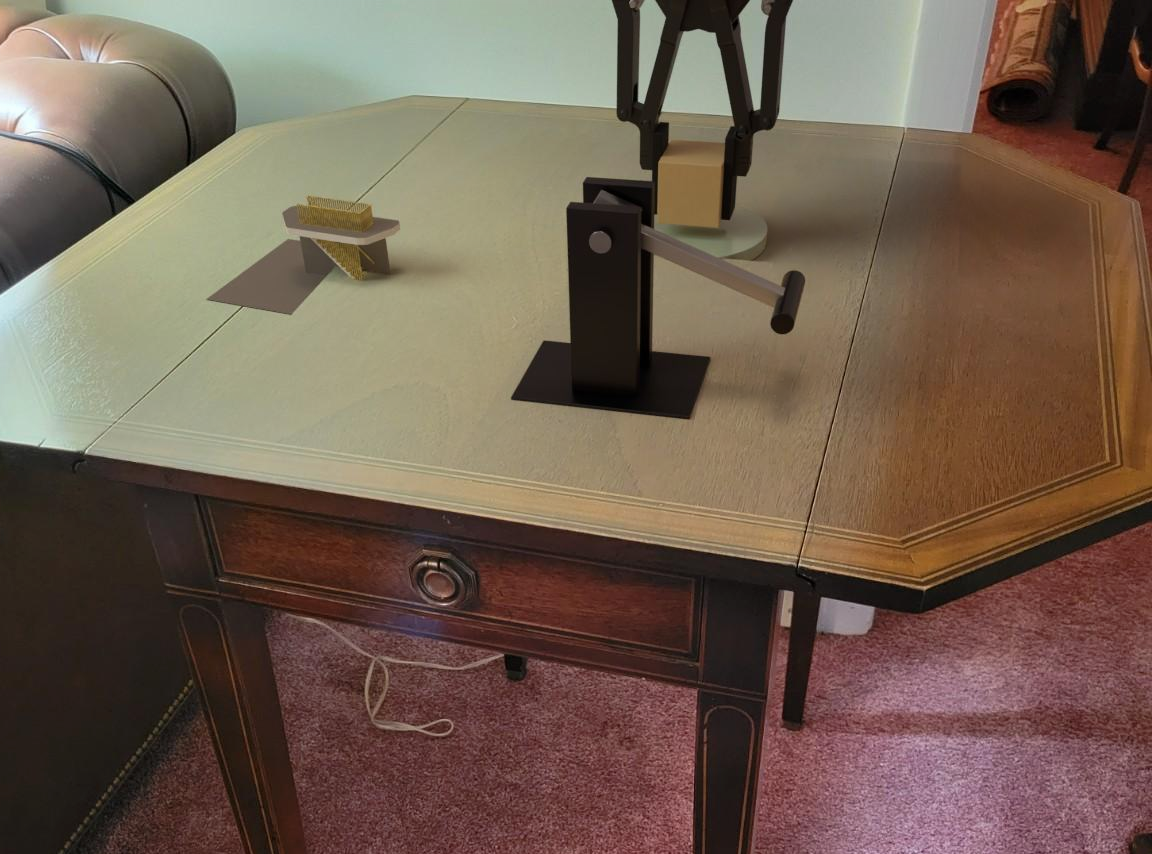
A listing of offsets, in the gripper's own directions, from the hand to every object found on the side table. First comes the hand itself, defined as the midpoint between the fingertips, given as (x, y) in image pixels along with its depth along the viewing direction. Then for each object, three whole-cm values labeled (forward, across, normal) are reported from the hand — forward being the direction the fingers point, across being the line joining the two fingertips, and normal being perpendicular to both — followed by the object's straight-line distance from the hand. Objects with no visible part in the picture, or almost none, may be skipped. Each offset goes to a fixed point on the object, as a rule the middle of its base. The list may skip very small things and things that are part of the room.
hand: (693, 210), depth 99 cm
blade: (-6, -4, +25) cm, 26 cm away
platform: (+3, +26, +13) cm, 29 cm away
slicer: (+3, +1, +25) cm, 25 cm away
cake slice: (0, 0, 0) cm, 0 cm away
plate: (+3, 0, 0) cm, 3 cm away
